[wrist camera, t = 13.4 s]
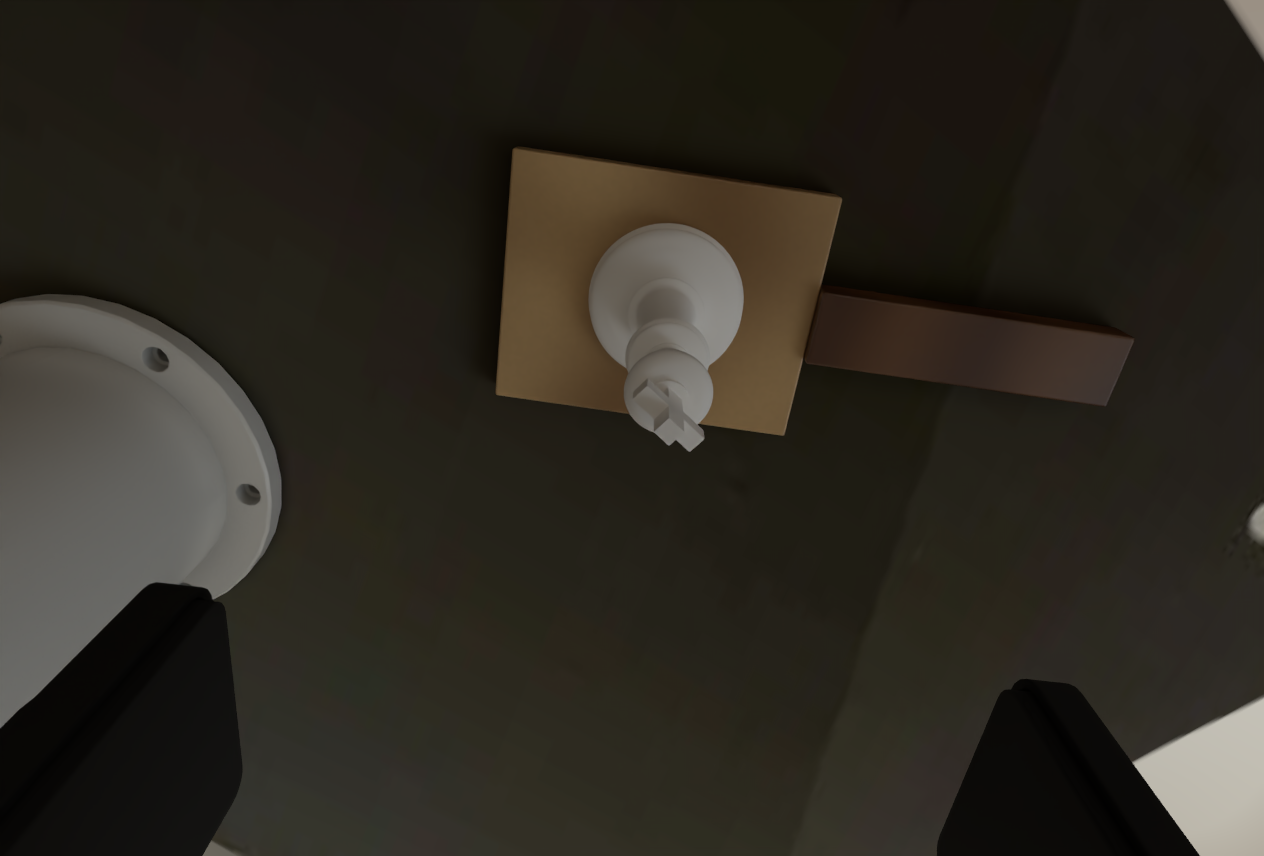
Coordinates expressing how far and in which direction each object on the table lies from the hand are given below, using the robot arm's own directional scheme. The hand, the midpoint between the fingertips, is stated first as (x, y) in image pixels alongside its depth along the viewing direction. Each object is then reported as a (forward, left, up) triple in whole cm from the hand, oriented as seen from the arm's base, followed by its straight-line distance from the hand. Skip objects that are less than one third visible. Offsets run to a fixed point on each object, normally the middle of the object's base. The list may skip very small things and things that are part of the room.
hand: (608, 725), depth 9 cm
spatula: (+5, +1, -18) cm, 19 cm away
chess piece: (+1, +1, -17) cm, 17 cm away
